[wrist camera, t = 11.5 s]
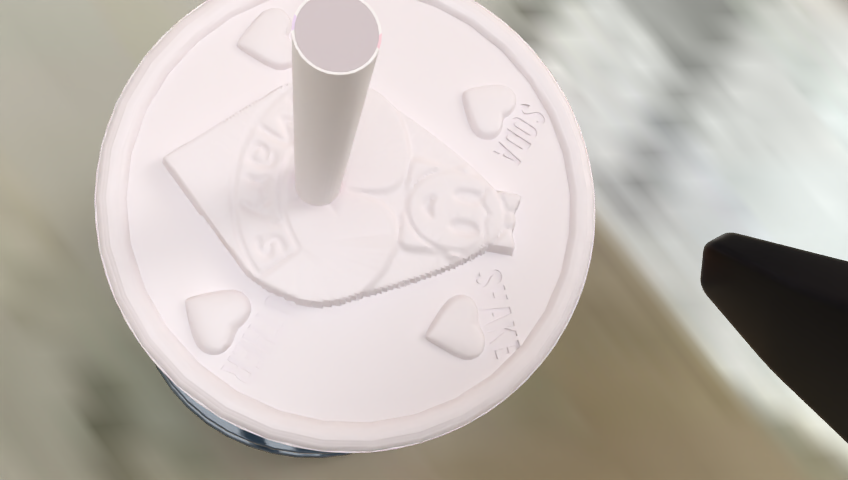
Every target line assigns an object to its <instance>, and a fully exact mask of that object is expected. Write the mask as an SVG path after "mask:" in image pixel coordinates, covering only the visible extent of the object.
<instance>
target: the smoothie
mask: <svg viewBox="0 0 848 480" xmlns="http://www.w3.org/2000/svg"><path fill="white" fill-rule="evenodd" d="M95 222H96V231H97V238H98V244H99V251H100V255H101V259H102V262H103V266H104V270H105V274H106V277H107V280H108V283H109V285H110V288H111V291H112V293H113V296H114V299H115V301H116V303H117V305H118V307H119V309H120V311H121V313H122V315H123V317H124V319H125V321H126V323H127V325H128V326H129V328H130V329H131V331H132V332H133V334H134V336H135V337H136V339H137V340H138V342H139V343H140V345H141V346H142V348H143V349H144V350H145V351H146V353H147V354H148V355H149V356H150V358H151V359H152V360H153V361H154V363H155V364H156V365H157V366H158V368H159V369H160V370H161V371H162V372H163V373H164V374H165V375H166V376H167V377H168V378H169V379H170V380H171V381H172V382H173V383H174V384H175V385H176V386H177V387H179V388H180V389H181V390H182V391H184V392H185V393H186V394H187V395H188V396H190V397H191V398H192V399H193V400H195V401H196V402H197V403H198V404H200V405H201V406H203V407H204V408H206V409H207V410H209V411H211V412H212V413H214V414H215V415H217V416H218V417H220V418H222V419H223V420H225V421H227V422H229V423H231V424H233V425H235V426H237V427H239V428H241V429H243V430H245V431H248V432H250V433H253V434H255V435H258V436H260V437H263V438H265V439H268V440H271V441H275V442H278V443H282V444H285V445H289V446H293V447H298V448H303V449H309V450H315V451H322V452H337V453H365V452H377V451H385V450H392V449H398V448H403V447H407V446H411V445H415V444H419V443H423V442H426V441H429V440H431V439H434V438H437V437H440V436H443V435H446V434H448V433H450V432H452V431H454V430H456V429H459V428H461V427H463V426H465V425H467V424H469V423H471V422H472V421H474V420H476V419H477V418H479V417H481V416H482V415H484V414H486V413H487V412H489V411H490V410H492V409H493V408H494V407H496V406H497V405H498V404H500V403H501V402H503V401H504V400H505V399H507V398H508V397H509V396H510V395H511V394H512V393H513V392H515V391H516V390H517V389H518V388H519V387H520V386H521V385H522V384H523V383H525V382H526V381H527V379H528V378H529V377H530V376H531V375H532V374H533V373H534V372H535V371H536V369H537V368H538V367H539V366H540V365H541V364H542V363H543V361H544V360H545V359H546V357H547V356H548V355H549V353H550V352H551V350H552V349H553V348H554V346H555V345H556V343H557V342H558V340H559V338H560V337H561V335H562V333H563V332H564V330H565V328H566V327H567V325H568V323H569V321H570V319H571V317H572V314H573V312H574V310H575V308H576V306H577V304H578V301H579V298H580V295H581V293H582V290H583V287H584V284H585V281H586V277H587V273H588V269H589V265H590V261H591V255H592V249H593V242H594V232H595V192H594V185H593V177H592V170H591V165H590V161H589V157H588V152H587V148H586V145H585V142H584V139H583V136H582V133H581V130H580V127H579V124H578V122H577V120H576V117H575V115H574V113H573V110H572V108H571V106H570V104H569V102H568V100H567V98H566V97H565V95H564V93H563V91H562V89H561V87H560V86H559V84H558V83H557V81H556V80H555V78H554V77H553V75H552V74H551V72H550V71H549V69H548V68H547V66H546V65H545V64H544V63H543V61H542V60H541V59H540V58H539V56H538V55H537V54H536V53H535V51H534V50H533V49H532V48H531V47H530V46H529V45H528V44H527V43H526V42H525V41H524V40H523V39H522V38H521V37H520V36H519V35H518V34H517V33H516V32H515V31H514V30H513V29H512V28H511V27H509V26H508V25H507V24H506V23H505V22H504V21H503V20H501V19H500V18H499V17H497V16H496V15H495V14H493V13H492V12H491V11H489V10H488V9H486V8H485V7H484V6H482V5H481V4H479V3H477V2H476V1H474V0H207V1H205V2H204V3H202V4H201V5H199V6H198V7H196V8H195V9H193V10H192V11H191V12H190V13H188V14H187V15H186V16H184V17H183V18H182V19H181V20H179V21H178V22H177V23H176V24H175V25H174V26H173V27H172V28H171V29H169V30H168V31H167V32H166V33H165V34H164V35H163V36H162V37H161V38H160V39H159V40H158V41H157V43H156V44H155V45H154V46H153V47H152V48H151V50H150V51H149V52H148V53H147V54H146V56H145V57H144V58H143V59H142V61H141V62H140V64H139V65H138V67H137V68H136V70H135V71H134V72H133V74H132V75H131V77H130V78H129V80H128V82H127V84H126V86H125V87H124V89H123V91H122V93H121V95H120V97H119V99H118V100H117V103H116V105H115V108H114V110H113V113H112V115H111V117H110V120H109V122H108V125H107V129H106V132H105V136H104V139H103V142H102V146H101V150H100V156H99V161H98V167H97V173H96V186H95Z"/></svg>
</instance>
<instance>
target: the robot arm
mask: <svg viewBox="0 0 848 480" xmlns="http://www.w3.org/2000/svg"><path fill="white" fill-rule="evenodd" d="M701 285H702V288H703V290H704V292H705V293H706V295H707V296H708V297H709V298H710V300H711V301H712V302H713V303H714V304H715V305H716V307H717V308H718V309H719V310H720V311H721V312H722V314H723V315H724V316H725V317H726V318H727V319H728V321H729V322H730V323H731V324H732V325H733V327H734V328H735V329H736V330H737V331H738V332H739V334H740V335H741V336H742V337H743V338H744V339H745V341H746V342H747V343H748V344H749V345H750V346H751V348H752V349H753V350H754V351H755V352H756V353H757V355H758V356H759V357H760V358H761V359H762V360H763V361H764V362H765V363H766V365H767V366H768V367H769V368H770V369H771V370H772V371H773V372H774V373H775V374H776V375H777V376H778V377H779V378H780V379H781V380H782V381H783V382H784V383H785V384H786V385H787V386H788V387H789V388H791V389H792V390H793V391H794V392H795V393H796V394H797V395H798V396H799V397H800V398H801V399H802V400H803V401H804V402H805V403H806V404H807V405H808V406H809V407H810V408H811V409H813V410H814V411H815V412H816V413H817V414H818V415H819V416H820V417H821V418H822V419H823V420H824V421H825V422H826V423H827V424H828V425H829V426H830V427H831V428H832V429H833V430H835V431H836V432H837V433H838V434H839V435H840V436H841V437H842V438H843V439H844V440H845V441H846V442H847V443H848V261H844V260H840V259H836V258H832V257H828V256H824V255H820V254H816V253H812V252H808V251H804V250H800V249H796V248H792V247H788V246H784V245H780V244H776V243H772V242H769V241H765V240H761V239H757V238H753V237H749V236H745V235H741V234H737V233H725V234H723V235H721V236H719V237H717V238H715V239H713V240H712V241H710V242H708V243H707V244H706V245H705V247H704V251H703V260H702V269H701Z"/></svg>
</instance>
